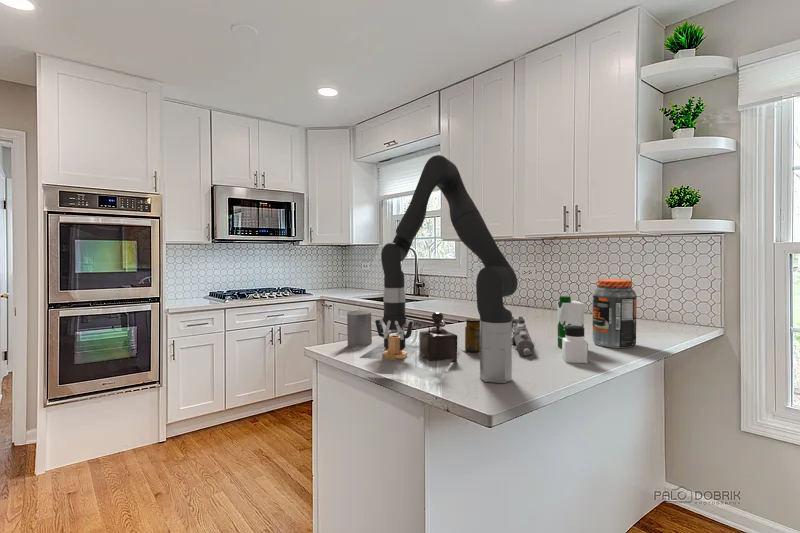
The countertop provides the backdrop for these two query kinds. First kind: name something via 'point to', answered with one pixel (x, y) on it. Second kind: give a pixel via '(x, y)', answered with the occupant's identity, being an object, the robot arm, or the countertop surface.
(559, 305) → the milk carton
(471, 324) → the condiment
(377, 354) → the carrier
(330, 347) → the countertop surface
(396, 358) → the faceted vase
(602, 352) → the countertop surface
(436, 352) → the coffee grinder
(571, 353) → the medicine bottle
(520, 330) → the hydraulic cylinder
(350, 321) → the pillar candle
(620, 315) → the supplement tub
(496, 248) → the robot arm
